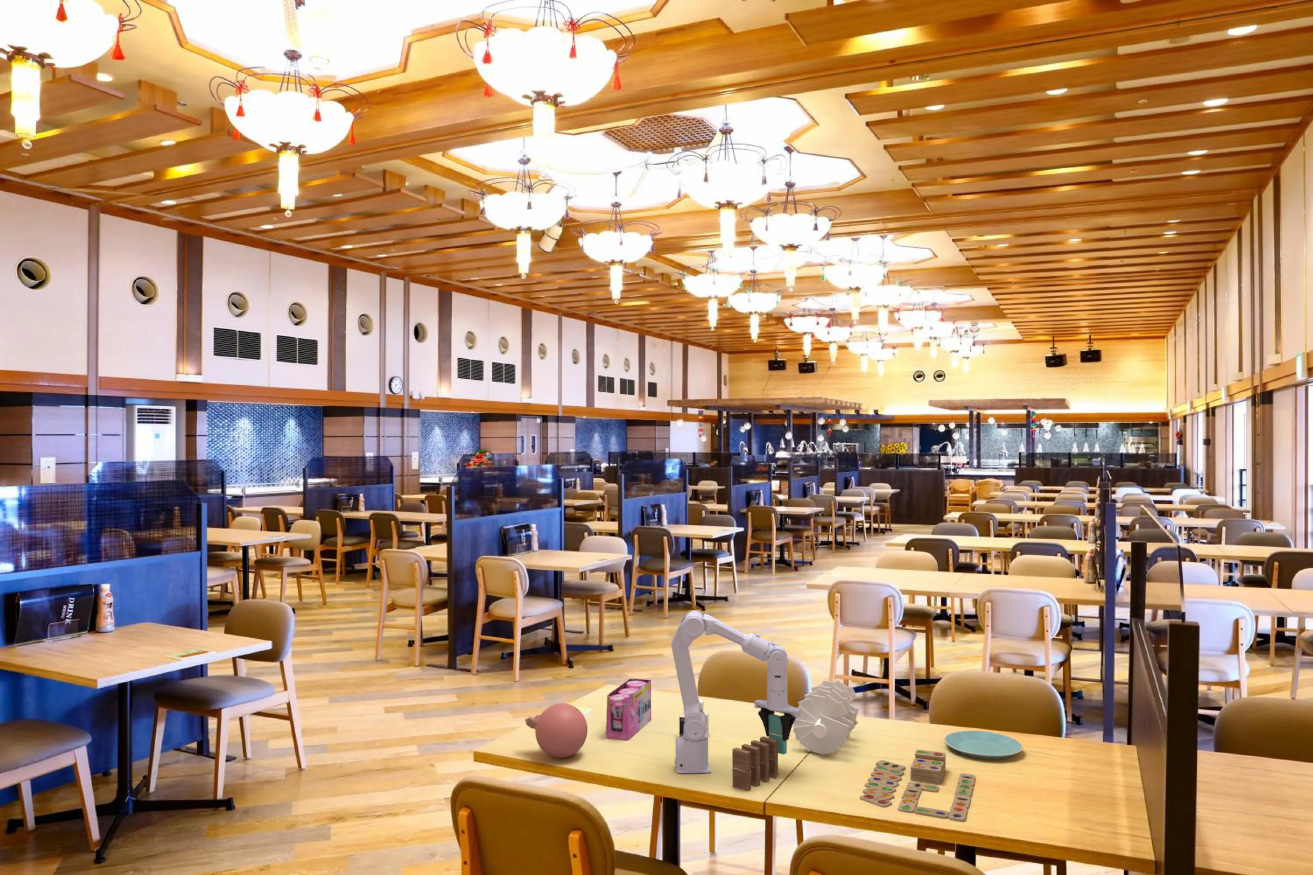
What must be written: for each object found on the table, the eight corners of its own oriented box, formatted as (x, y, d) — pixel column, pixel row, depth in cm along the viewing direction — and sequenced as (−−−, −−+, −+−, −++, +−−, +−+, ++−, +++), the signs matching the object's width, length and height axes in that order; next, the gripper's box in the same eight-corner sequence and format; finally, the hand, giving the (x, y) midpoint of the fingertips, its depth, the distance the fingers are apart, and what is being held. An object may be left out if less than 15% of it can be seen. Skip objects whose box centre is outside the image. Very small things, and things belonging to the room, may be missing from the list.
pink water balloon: (540, 742, 267) (540, 693, 268) (596, 751, 259) (596, 700, 259) (511, 758, 253) (512, 706, 254) (570, 768, 245) (570, 714, 245)
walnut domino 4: (774, 778, 238) (774, 741, 238) (759, 773, 241) (759, 737, 241) (778, 776, 239) (777, 740, 239) (763, 771, 242) (763, 736, 242)
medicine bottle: (678, 738, 272) (678, 699, 272) (688, 731, 278) (688, 694, 278) (699, 741, 268) (699, 702, 268) (708, 735, 275) (708, 697, 275)
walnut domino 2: (756, 786, 231) (756, 749, 232) (741, 781, 235) (741, 745, 235) (760, 784, 233) (760, 747, 233) (745, 780, 236) (745, 743, 236)
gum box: (627, 742, 268) (627, 698, 268) (603, 739, 271) (603, 696, 271) (651, 719, 291) (651, 679, 291) (629, 717, 293) (629, 677, 294)
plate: (998, 769, 244) (998, 759, 244) (929, 749, 261) (929, 739, 261) (1036, 752, 258) (1036, 743, 258) (969, 734, 275) (969, 725, 275)
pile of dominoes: (877, 762, 251) (877, 743, 251) (976, 776, 240) (976, 756, 240) (853, 806, 219) (853, 784, 220) (966, 824, 208) (965, 801, 208)
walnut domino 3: (765, 782, 234) (765, 745, 235) (750, 777, 238) (750, 741, 238) (769, 780, 236) (769, 743, 236) (754, 776, 239) (754, 739, 239)
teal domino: (783, 754, 241) (783, 718, 241) (768, 750, 244) (768, 714, 244) (786, 752, 242) (786, 717, 242) (772, 748, 245) (771, 713, 246)
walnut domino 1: (747, 791, 228) (747, 753, 228) (732, 786, 232) (732, 748, 232) (751, 789, 229) (751, 751, 230) (736, 784, 233) (736, 747, 233)
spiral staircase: (805, 769, 255) (820, 739, 278) (859, 750, 249) (870, 721, 272) (778, 711, 258) (795, 686, 281) (831, 691, 252) (844, 667, 275)
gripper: (806, 691, 242) (807, 739, 241) (764, 682, 251) (764, 728, 251) (792, 696, 236) (793, 746, 236) (750, 686, 246) (750, 734, 246)
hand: (777, 737), depth 243 cm, fingers closed on teal domino, 5 cm apart
